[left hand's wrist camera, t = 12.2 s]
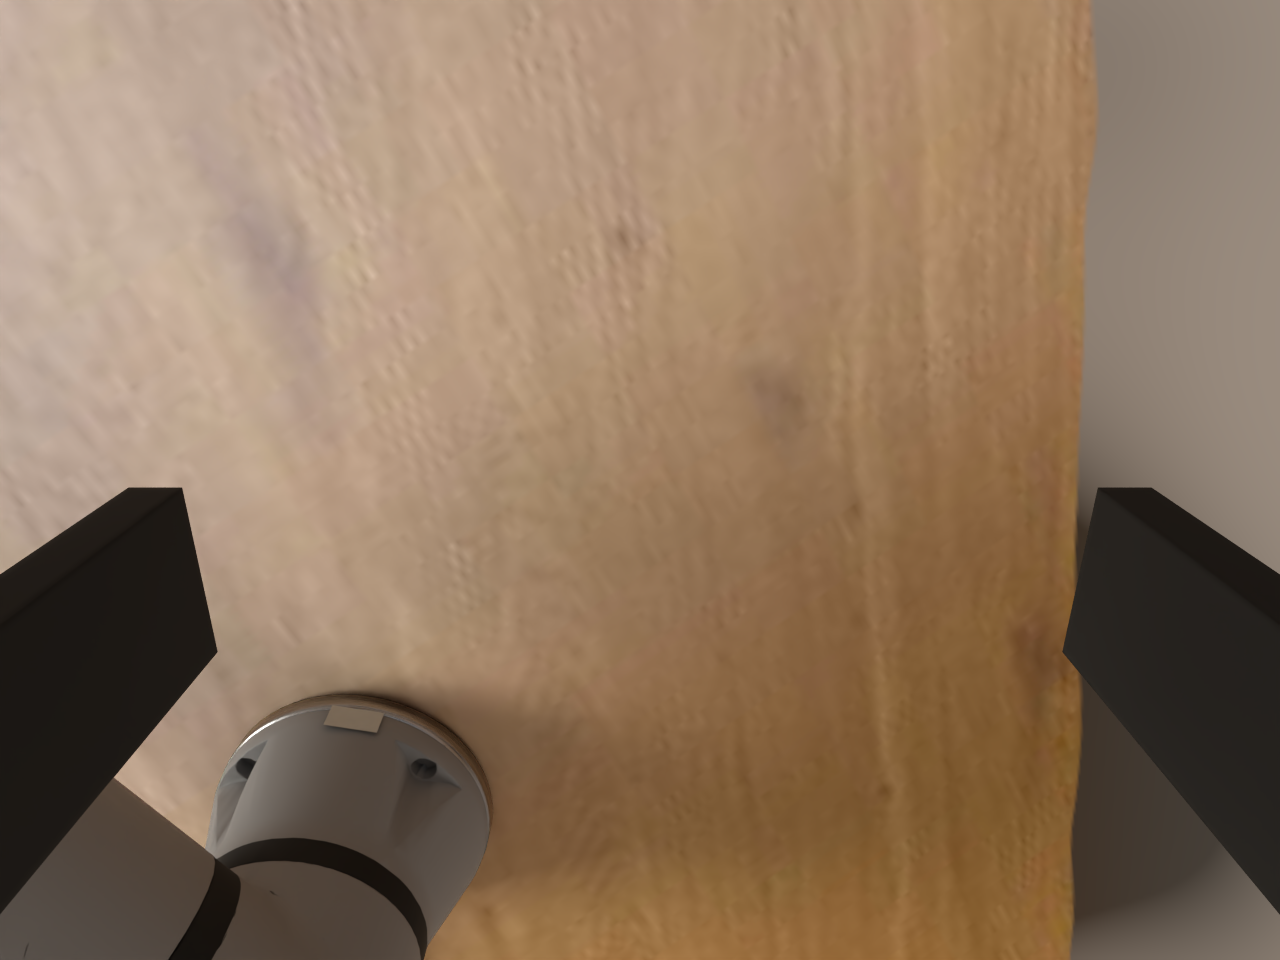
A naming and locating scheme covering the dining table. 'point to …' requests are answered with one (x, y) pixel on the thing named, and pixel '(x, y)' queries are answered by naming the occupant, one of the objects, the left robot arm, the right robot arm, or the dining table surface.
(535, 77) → the dining table surface
